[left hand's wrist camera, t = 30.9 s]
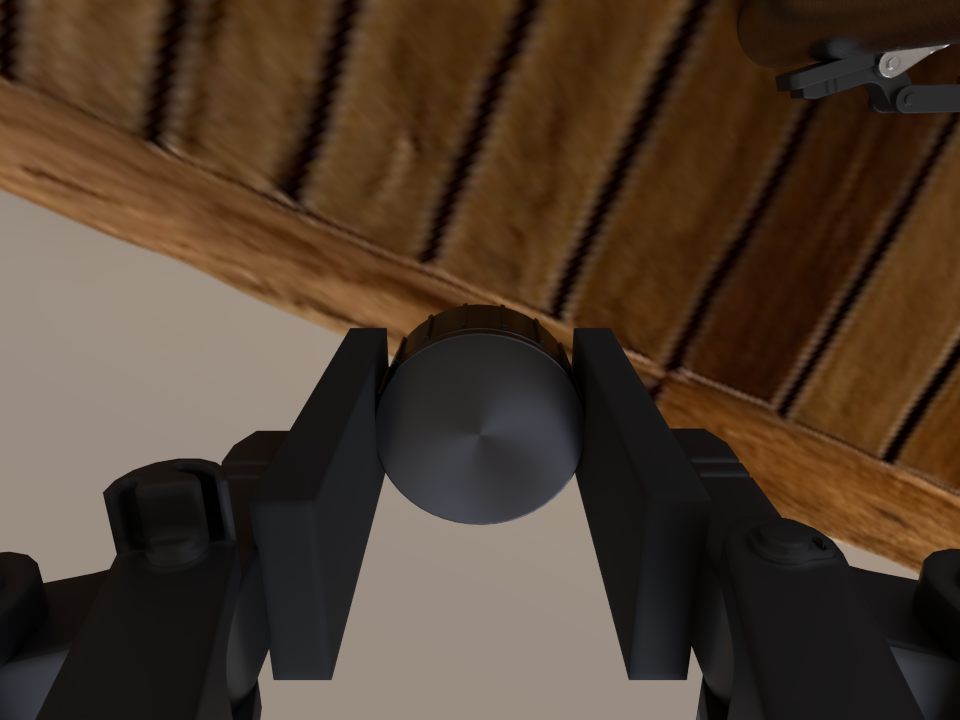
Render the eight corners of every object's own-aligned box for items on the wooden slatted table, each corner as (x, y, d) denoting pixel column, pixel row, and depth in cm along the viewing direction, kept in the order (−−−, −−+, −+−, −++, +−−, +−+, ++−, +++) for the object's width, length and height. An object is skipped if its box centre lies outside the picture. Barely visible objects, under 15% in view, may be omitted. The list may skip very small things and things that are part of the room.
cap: (613, 358, 14) (632, 394, 12) (516, 505, 15) (521, 558, 13) (440, 265, 13) (434, 291, 11) (353, 428, 14) (336, 473, 13)
